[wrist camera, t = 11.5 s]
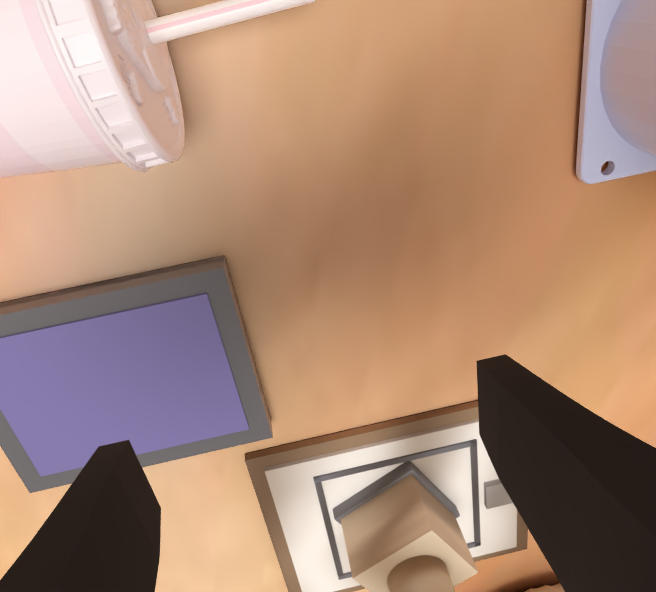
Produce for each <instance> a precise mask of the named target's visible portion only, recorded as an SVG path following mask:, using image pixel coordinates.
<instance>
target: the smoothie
mask: <svg viewBox="0 0 656 592" xmlns="http://www.w3.org/2000/svg"><path fill="white" fill-rule="evenodd" d="M313 2H315V0H222V1H218V2H215V3H211V4H207V5H203V6H200V7H196V8H192V9H188V10H185V11H181V12H177V13H173V14H170V15H166V16H162V17H157V14H156V12H155V9H154V6H153V3H152V1H151V0H0V178H4V177H12V176H20V175H28V174H35V173H43V172H51V171H59V170H70V169H77V168H84V167H91V166H98V165H105V164H111V163H118V162H123V163H125V164H126V165H127V166H128V167H130V168H131V169H132V170H136V171H141V172H146V171H148V170H149V169H150V168H151V167H153V166H157V165H161V164H165V163H169V162H174V161H177V160H178V159H179V158H180V156H181V154H182V151H183V149H184V140H185V131H184V118H183V111H182V104H181V99H180V94H179V89H178V85H177V81H176V77H175V72H174V68H173V65H172V61H171V58H170V54H169V51H168V47H167V42H166V41H170V40H173V39H177V38H181V37H185V36H189V35H192V34H196V33H200V32H204V31H207V30H211V29H215V28H219V27H222V26H226V25H230V24H234V23H238V22H241V21H245V20H249V19H253V18H256V17H260V16H264V15H268V14H271V13H275V12H279V11H283V10H287V9H290V8H294V7H298V6H302V5H305V4H309V3H313Z"/></svg>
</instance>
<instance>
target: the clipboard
mask: <svg viewBox="0 0 656 592" xmlns="http://www.w3.org/2000/svg"><path fill="white" fill-rule="evenodd" d="M407 461H411V462H412V463H413V464H414V465H415V466H416V467H417V468H418V469H419V470H420V471H421V472H422V473H423V474H424V475H425V476H426V477H427V478H428V479H429V480H430V481H431V482H432V483H433V484H434V485H435V486H436V487H437V488H438V489H439V490H440V491H441V492H442V493H443V494H444V495H446V496H447V497H448V498H449V499H450V500H451V501H452V502H453V503H454V504H455V505H456V507H457V509H458V512H459V514H460V516H459V517H458V518H456V520H457V522H458V525H459V527H460V529H461V532H462V534H463V537H464V539H465V541H466V544H467V546H468V548H469V551H470V553H471V556H472V558H473V560H474V562H475V561H479V560H483V559H487V558H492V557H496V556H500V555H504V554H508V553H512V552H516V551H520V550H524V549H527V534H528V527H527V526H526V524H525V522H524V521H523V519H522V517H521V516H520V514H519V512H518V510H517V509H516V507H515V505H514V504H513V502H512V500H511V499H510V497H509V495H508V493H507V492H506V490H505V488H504V487H503V485H502V483H501V481H500V480H499V478H498V476H497V473H496V471H495V469H494V467H493V465H492V462H491V460H490V458H489V456H488V453H487V451H486V449H485V446H484V444H483V442H482V439H481V437H480V434H479V412H478V400H477V401H473V402H469V403H464V404H460V405H456V406H451V407H447V408H443V409H438V410H434V411H429V412H425V413H421V414H416V415H412V416H408V417H403V418H399V419H395V420H390V421H386V422H382V423H377V424H373V425H369V426H364V427H360V428H356V429H351V430H347V431H342V432H338V433H334V434H329V435H325V436H321V437H316V438H312V439H308V440H303V441H299V442H295V443H290V444H286V445H282V446H277V447H273V448H269V449H264V450H260V451H255V452H251V453H247V454H245V462H246V465H247V468H248V471H249V474H250V477H251V480H252V483H253V486H254V489H255V492H256V495H257V498H258V501H259V504H260V507H261V510H262V513H263V516H264V519H265V522H266V525H267V528H268V531H269V534H270V537H271V540H272V543H273V546H274V549H275V552H276V555H277V558H278V561H279V564H280V567H281V570H282V573H283V577H284V580H285V583H286V586H287V589H288V592H353V591H357V590H361V589H365V587H363V586H362V585H360V584H359V583H358V582H356V581H355V580H354V579H352V574H351V569H350V564H349V559H348V554H347V549H346V544H345V539H344V534H343V529H342V525H341V524H340V523H338V522H337V521H336V520H335V519H334V514H333V508H335V507H336V506H338V505H339V504H341V503H342V502H344V501H345V500H347V499H348V498H350V497H352V496H353V495H355V494H356V493H358V492H359V491H361V490H362V489H364V488H365V487H367V486H369V485H370V484H372V483H373V482H375V481H376V480H378V479H379V478H381V477H382V476H384V475H386V474H387V473H389V472H390V471H392V470H393V469H395V468H396V467H398V466H399V465H401V464H403V463H404V462H407Z"/></svg>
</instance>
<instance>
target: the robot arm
mask: <svg viewBox="0 0 656 592" xmlns="http://www.w3.org/2000/svg"><path fill="white" fill-rule="evenodd" d="M607 161H608V163H609V164H608V167H607V168H606V169H605V170H604V171H602V172H601V167H602V165H603V164H604V163H605V162H607ZM651 171H656V0H587V6H586V21H585V37H584V52H583V68H582V83H581V99H580V114H579V130H578V145H577V161H576V176H577V177H578V179H579V180H581V181H583V182H585V183H587V184H595V183H599V182H604V181H609V180H614V179H618V178H623V177H628V176H632V175H637V174H642V173H647V172H651ZM477 382H478V412H479V434H480V437H481V439H482V442H483V444H484V446H485V449H486V451H487V453H488V456H489V458H490V460H491V462H492V465H493V467H494V469H495V471H496V473H497V476H498V478H499V480H500V481H501V483H502V485H503V487H504V488H505V490H506V492H507V493H508V495H509V497H510V499H511V500H512V502H513V504H514V505H515V507H516V509H517V510H518V512H519V514H520V516H521V517H522V519H523V521H524V522H525V524H526V526H527V527H528V529H529V531H530V532H531V534H532V536H533V537H534V539H535V541H536V543H537V544H538V546H539V548H540V549H541V551H542V553H543V554H544V556H545V558H546V559H547V561H548V563H549V564H550V566H551V568H552V569H553V571H554V573H555V575H556V576H557V578H558V580H559V582H560V584H561V586H562V587H563V589H564V591H565V592H656V448H654V447H653V446H651V445H649V444H647V443H645V442H643V441H641V440H639V439H638V438H636V437H634V436H632V435H631V434H629V433H627V432H625V431H623V430H622V429H620V428H618V427H616V426H615V425H613V424H611V423H609V422H608V421H606V420H604V419H603V418H601V417H599V416H598V415H596V414H594V413H593V412H591V411H590V410H588V409H586V408H585V407H583V406H582V405H580V404H579V403H577V402H575V401H574V400H572V399H571V398H569V397H568V396H566V395H565V394H563V393H562V392H560V391H559V390H557V389H556V388H554V387H553V386H551V385H550V384H548V383H547V382H545V381H544V380H542V379H541V378H539V377H538V376H536V375H535V374H533V373H532V372H530V371H529V370H528V369H526V368H525V367H523V366H522V365H520V364H519V363H517V362H516V361H514V360H513V359H511V358H510V357H508V356H507V355H501V356H497V357H492V358H488V359H483V360H479V361H477ZM160 525H161V507H160V505H159V503H158V501H157V499H156V497H155V495H154V492H153V490H152V488H151V486H150V484H149V482H148V480H147V477H146V475H145V473H144V471H143V469H142V467H141V465H140V462H139V460H138V458H137V456H136V454H135V452H134V450H133V447H132V445H131V443H130V441H129V440H125V441H121V442H116V443H112V444H107V445H103V446H99V447H98V448H97V449H96V451H95V452H94V453H93V455H92V456H91V458H90V459H89V460H88V462H87V463H86V465H85V466H84V468H83V469H82V470H81V472H80V473H79V475H78V476H77V478H76V479H75V480H74V482H73V483H72V485H71V486H70V488H69V489H68V490H67V492H66V493H65V495H64V496H63V498H62V499H61V500H60V502H59V503H58V505H57V506H56V508H55V509H54V510H53V512H52V513H51V514H50V516H49V517H48V519H47V520H46V521H45V523H44V524H43V526H42V527H41V528H40V530H39V531H38V532H37V534H36V535H35V537H34V538H33V539H32V541H31V542H30V543H29V544H28V546H27V547H26V548H25V550H24V551H23V552H22V553H21V555H20V556H19V557H18V559H17V560H16V561H15V562H14V564H13V565H12V566H11V567H10V569H9V570H8V571H7V573H6V574H5V575H4V576H3V578H2V579H1V580H0V592H155V585H156V578H157V572H158V565H159V556H160Z"/></svg>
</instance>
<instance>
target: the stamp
mask: <svg viewBox="0 0 656 592" xmlns="http://www.w3.org/2000/svg"><path fill="white" fill-rule="evenodd" d="M333 514H334V519H335V520H336V521H337V522H338V523H340V524H341V525H342V529H343V534H344V539H345V544H346V549H347V554H348V559H349V564H350V569H351V574H352V579H354V580H355V581H356V582H358V583H359V584H360V585H362V586H363V587H365V588H366V589H367V590H369V591H370V592H455V590H454V586H456V585H458V584H460V583H461V582H463V581H465V580H466V579H468V578H470V577H472V576H473V575H475V574H477V573H478V570H477V568H476V565H475V563H474V560H473V558H472V556H471V553H470V551H469V548H468V546H467V544H466V541H465V539H464V537H463V534H462V532H461V529H460V527H459V525H458V522H457V520H456V518H458V517H459V516H460V514H459V512H458V509H457V507H456V505H455V504H454V503H453V502H452V501H451V500H450V499H449V498H448V497H447V496H446V495H444V494H443V493H442V492H441V491H440V490H439V489H438V488H437V487H436V486H435V485H434V484H433V483H432V482H431V481H430V480H429V479H428V478H427V477H426V476H425V475H424V474H423V473H422V472H421V471H420V470H419V469H418V468H417V467H416V466H415V465H414V464H413V463H412V462H411V461H407V462H404V463H403V464H401V465H399V466H398V467H396V468H395V469H393V470H392V471H390V472H389V473H387V474H386V475H384V476H382V477H381V478H379V479H378V480H376V481H375V482H373V483H372V484H370V485H369V486H367V487H365V488H364V489H362V490H361V491H359V492H358V493H356V494H355V495H353V496H352V497H350V498H348V499H347V500H345V501H344V502H342V503H341V504H339V505H338V506H336V507H335V508H333Z"/></svg>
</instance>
